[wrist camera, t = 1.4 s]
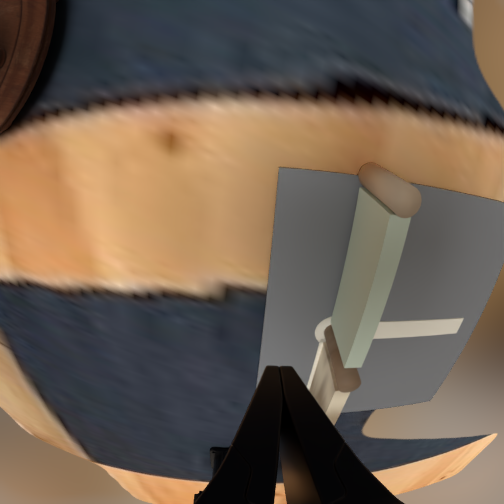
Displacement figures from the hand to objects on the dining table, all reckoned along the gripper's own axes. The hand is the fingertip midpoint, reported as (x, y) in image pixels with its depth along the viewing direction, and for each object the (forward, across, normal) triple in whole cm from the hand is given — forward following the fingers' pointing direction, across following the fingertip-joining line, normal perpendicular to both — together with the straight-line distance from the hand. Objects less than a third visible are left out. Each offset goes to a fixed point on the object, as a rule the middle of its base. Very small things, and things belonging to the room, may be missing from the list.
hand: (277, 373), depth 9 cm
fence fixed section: (+11, -6, +13) cm, 19 cm away
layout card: (+12, -11, +8) cm, 18 cm away
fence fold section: (+11, -6, +1) cm, 12 cm away
